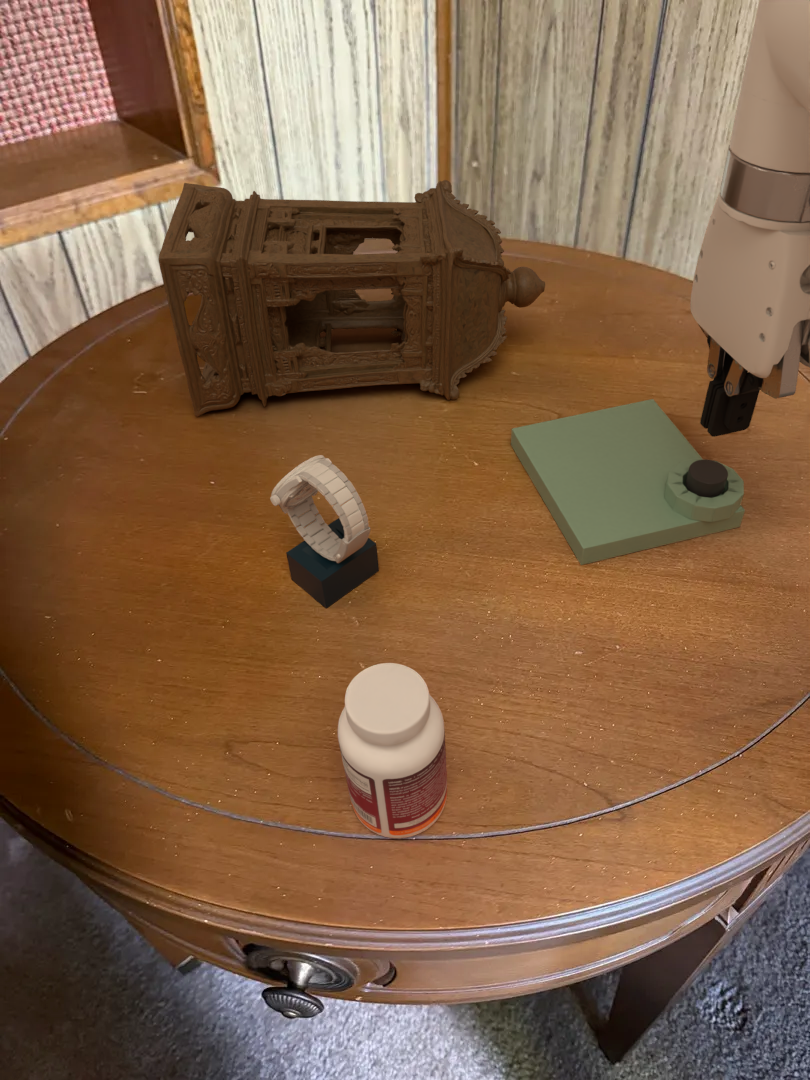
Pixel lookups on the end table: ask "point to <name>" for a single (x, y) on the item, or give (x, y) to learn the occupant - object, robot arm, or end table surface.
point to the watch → (326, 531)
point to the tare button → (706, 478)
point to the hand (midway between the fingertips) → (723, 426)
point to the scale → (622, 481)
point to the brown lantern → (333, 292)
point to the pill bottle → (393, 751)
